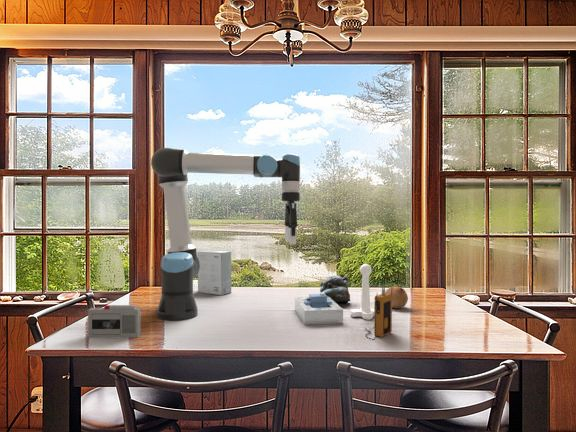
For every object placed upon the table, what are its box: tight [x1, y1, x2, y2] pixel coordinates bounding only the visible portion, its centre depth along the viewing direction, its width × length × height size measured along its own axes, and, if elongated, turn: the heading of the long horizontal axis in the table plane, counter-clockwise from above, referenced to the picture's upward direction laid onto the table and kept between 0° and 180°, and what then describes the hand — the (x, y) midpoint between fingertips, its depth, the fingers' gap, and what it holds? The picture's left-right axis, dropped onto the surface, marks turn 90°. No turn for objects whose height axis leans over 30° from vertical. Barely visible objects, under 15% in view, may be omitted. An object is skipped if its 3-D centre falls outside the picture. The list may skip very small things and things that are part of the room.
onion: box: [385, 286, 409, 309], centre depth 177 cm, size 10×9×10 cm
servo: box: [304, 292, 332, 308], centre depth 163 cm, size 10×4×9 cm, turn 98°
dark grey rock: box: [319, 274, 351, 304], centre depth 187 cm, size 15×12×14 cm
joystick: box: [350, 263, 374, 320], centre depth 162 cm, size 11×8×20 cm
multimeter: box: [364, 272, 393, 341], centre depth 143 cm, size 15×10×20 cm
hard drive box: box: [197, 250, 232, 296], centre depth 207 cm, size 16×8×20 cm, turn 58°
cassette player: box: [87, 304, 142, 339], centre depth 138 cm, size 16×3×10 cm, turn 92°
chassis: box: [294, 296, 344, 326], centre depth 163 cm, size 14×22×5 cm, turn 8°
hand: (290, 242), depth 179 cm, fingers open, 13 cm apart
